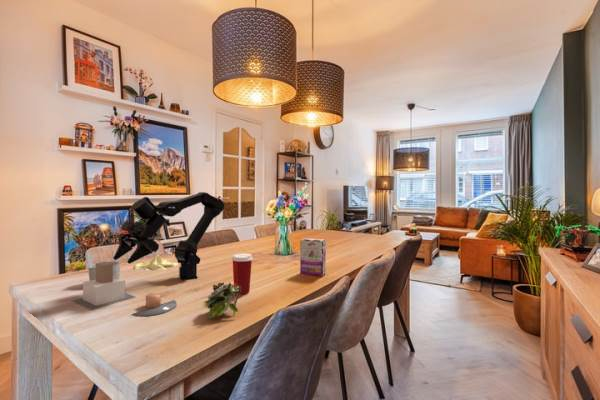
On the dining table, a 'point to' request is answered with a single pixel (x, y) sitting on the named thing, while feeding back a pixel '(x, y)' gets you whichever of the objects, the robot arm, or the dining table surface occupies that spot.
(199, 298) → the dining table surface
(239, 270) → the paper cup
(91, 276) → the teacup
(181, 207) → the robot arm
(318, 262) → the candy bar box
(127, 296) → the mat
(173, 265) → the cloth
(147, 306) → the grey disc
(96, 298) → the white brown stepped block
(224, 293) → the green leafy cluster
